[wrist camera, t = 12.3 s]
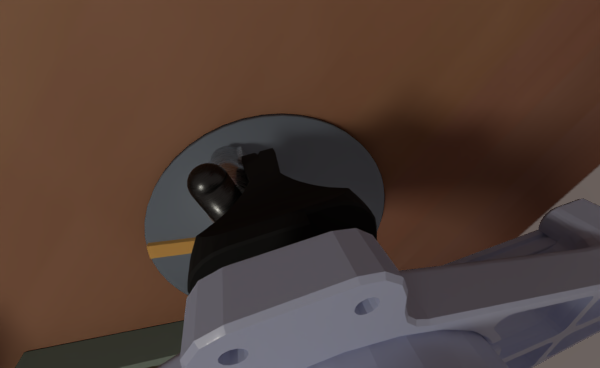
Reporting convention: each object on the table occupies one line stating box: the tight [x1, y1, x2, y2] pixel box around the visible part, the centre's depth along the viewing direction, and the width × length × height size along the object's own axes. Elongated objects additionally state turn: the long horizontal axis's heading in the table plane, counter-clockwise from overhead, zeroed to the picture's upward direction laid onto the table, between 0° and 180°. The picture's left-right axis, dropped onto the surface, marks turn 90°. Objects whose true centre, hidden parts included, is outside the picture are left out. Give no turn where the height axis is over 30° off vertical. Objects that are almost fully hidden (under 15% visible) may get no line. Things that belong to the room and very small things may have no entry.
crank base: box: [145, 114, 384, 295], centre depth 17 cm, size 16×16×1 cm
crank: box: [187, 146, 249, 223], centre depth 13 cm, size 10×4×5 cm, turn 23°
